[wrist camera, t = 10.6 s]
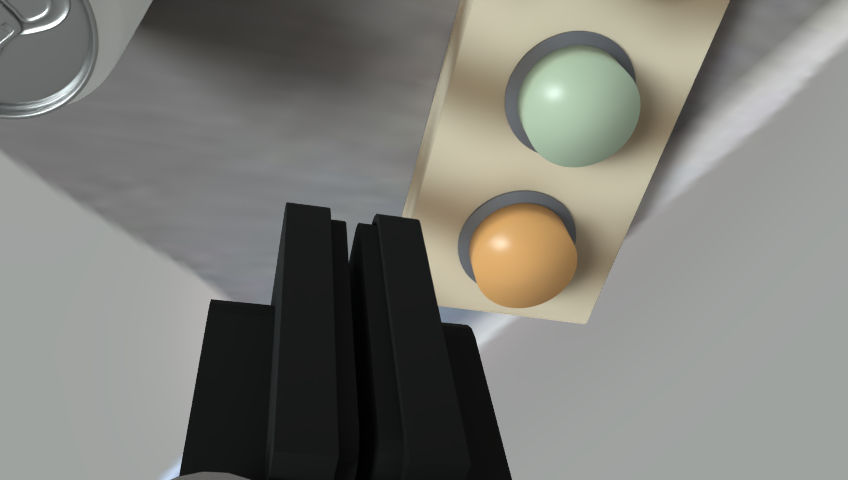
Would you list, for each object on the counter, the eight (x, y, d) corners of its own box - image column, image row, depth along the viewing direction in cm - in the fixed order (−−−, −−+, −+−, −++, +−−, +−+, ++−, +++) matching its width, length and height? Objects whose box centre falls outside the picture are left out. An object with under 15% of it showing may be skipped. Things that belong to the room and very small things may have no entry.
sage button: (537, 34, 34) (548, 48, 32) (643, 57, 35) (658, 72, 33) (503, 139, 36) (511, 157, 35) (603, 157, 37) (615, 175, 36)
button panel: (528, -257, 30) (546, -256, 28) (777, -182, 33) (810, -175, 31) (386, 272, 43) (390, 301, 41) (574, 297, 45) (587, 326, 43)
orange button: (484, 195, 38) (492, 215, 36) (581, 211, 39) (592, 231, 37) (457, 280, 40) (463, 301, 39) (548, 292, 41) (557, 313, 40)
